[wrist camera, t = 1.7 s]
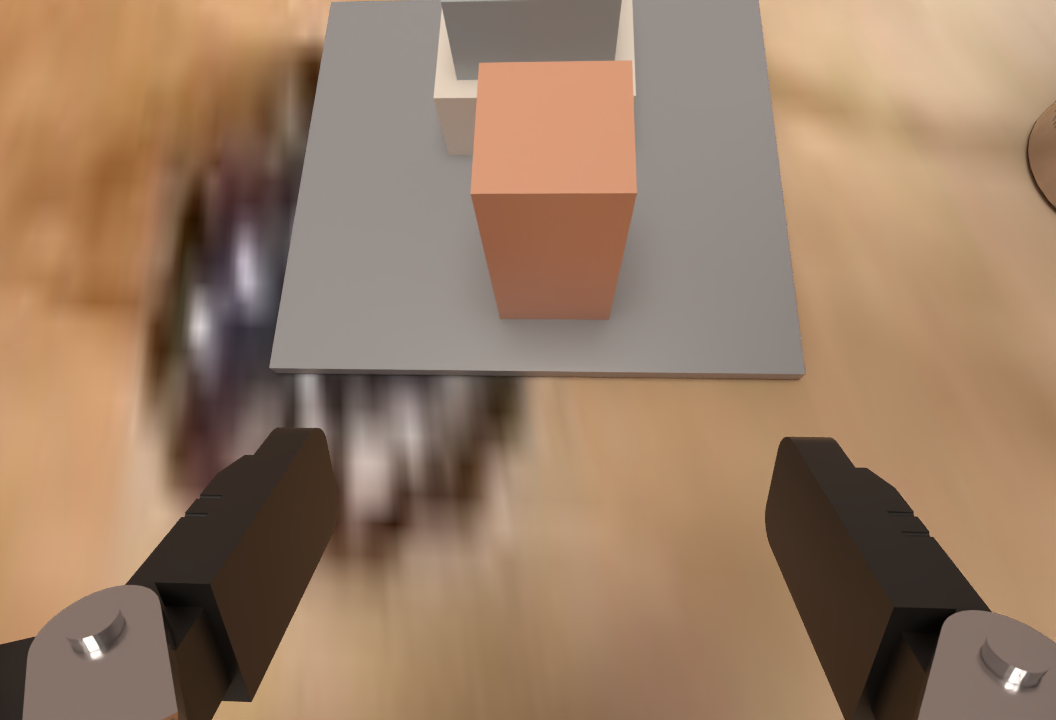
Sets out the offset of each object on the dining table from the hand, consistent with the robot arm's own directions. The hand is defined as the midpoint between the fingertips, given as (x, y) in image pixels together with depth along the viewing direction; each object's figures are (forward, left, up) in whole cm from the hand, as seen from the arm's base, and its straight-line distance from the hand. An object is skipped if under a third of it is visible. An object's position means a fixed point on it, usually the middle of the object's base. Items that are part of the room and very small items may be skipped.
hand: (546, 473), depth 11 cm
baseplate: (+1, -17, -16) cm, 23 cm away
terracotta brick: (0, -11, -15) cm, 19 cm away
